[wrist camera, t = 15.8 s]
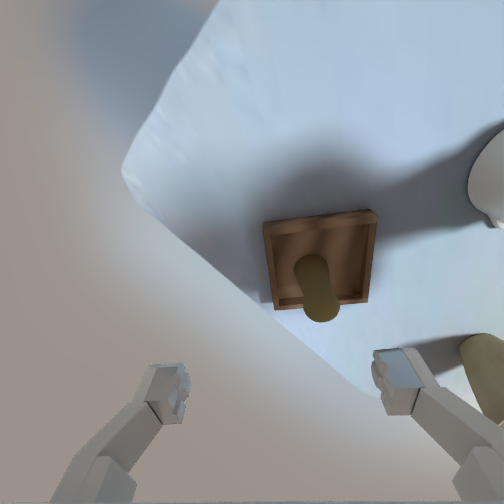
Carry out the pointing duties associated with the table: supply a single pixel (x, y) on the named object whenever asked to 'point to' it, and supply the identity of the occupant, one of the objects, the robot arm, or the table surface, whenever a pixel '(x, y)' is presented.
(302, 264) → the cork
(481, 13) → the table surface
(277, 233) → the walnut tray
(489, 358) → the plant pot
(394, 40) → the table surface
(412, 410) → the robot arm
